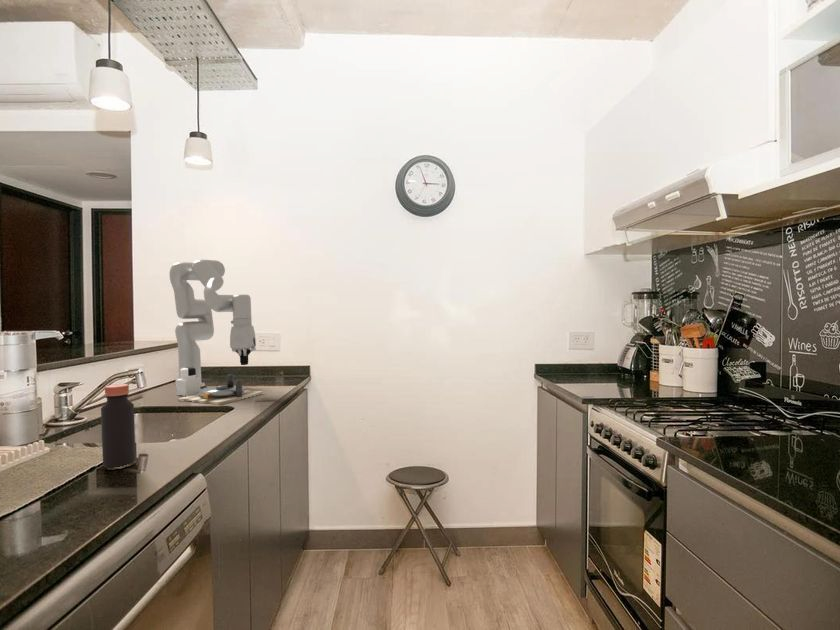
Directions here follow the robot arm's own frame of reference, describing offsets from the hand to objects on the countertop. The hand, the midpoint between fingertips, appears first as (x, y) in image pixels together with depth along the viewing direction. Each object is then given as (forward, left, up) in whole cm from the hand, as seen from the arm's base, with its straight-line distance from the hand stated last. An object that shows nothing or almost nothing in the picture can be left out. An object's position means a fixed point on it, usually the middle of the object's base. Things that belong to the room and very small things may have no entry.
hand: (244, 364), depth 206 cm
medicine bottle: (-24, -9, -13) cm, 29 cm away
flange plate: (-5, -9, -11) cm, 15 cm away
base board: (-5, -8, -13) cm, 16 cm away
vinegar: (+40, -81, -13) cm, 91 cm away
